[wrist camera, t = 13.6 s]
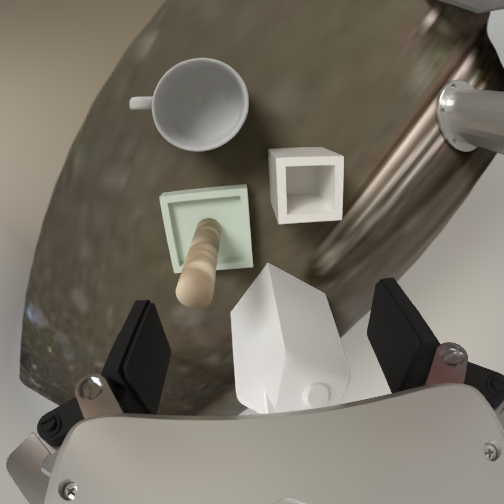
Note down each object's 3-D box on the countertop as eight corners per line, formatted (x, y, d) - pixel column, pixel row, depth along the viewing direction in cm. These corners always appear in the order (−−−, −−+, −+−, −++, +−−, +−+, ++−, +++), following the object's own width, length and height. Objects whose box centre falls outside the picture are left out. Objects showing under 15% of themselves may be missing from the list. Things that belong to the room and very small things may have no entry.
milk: (230, 312, 50) (228, 451, 26) (267, 262, 45) (293, 406, 22) (286, 337, 53) (309, 463, 30) (325, 293, 49) (376, 422, 25)
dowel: (219, 216, 41) (210, 276, 26) (222, 240, 42) (215, 307, 28) (194, 219, 41) (172, 279, 26) (198, 242, 42) (180, 309, 28)
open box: (321, 147, 38) (343, 156, 30) (322, 198, 41) (341, 220, 33) (267, 148, 38) (275, 157, 30) (270, 201, 41) (278, 224, 33)
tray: (246, 184, 40) (247, 187, 38) (252, 260, 45) (253, 267, 43) (163, 192, 40) (159, 197, 38) (176, 266, 45) (174, 273, 43)
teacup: (257, 80, 33) (262, 71, 26) (232, 154, 38) (231, 163, 31) (159, 58, 31) (140, 46, 24) (137, 130, 35) (115, 135, 28)
